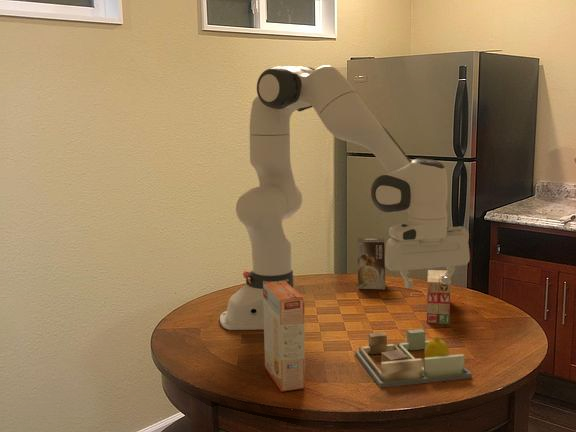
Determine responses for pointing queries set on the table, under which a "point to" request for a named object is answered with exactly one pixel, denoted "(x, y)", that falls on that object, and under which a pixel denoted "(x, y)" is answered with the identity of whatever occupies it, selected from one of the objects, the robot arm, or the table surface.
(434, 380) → the lane guides
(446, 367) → the frame
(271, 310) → the cracker box
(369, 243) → the coffee box
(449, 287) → the stack of blocks
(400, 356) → the walnut cube
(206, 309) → the table surface
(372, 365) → the frame
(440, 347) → the fruit
